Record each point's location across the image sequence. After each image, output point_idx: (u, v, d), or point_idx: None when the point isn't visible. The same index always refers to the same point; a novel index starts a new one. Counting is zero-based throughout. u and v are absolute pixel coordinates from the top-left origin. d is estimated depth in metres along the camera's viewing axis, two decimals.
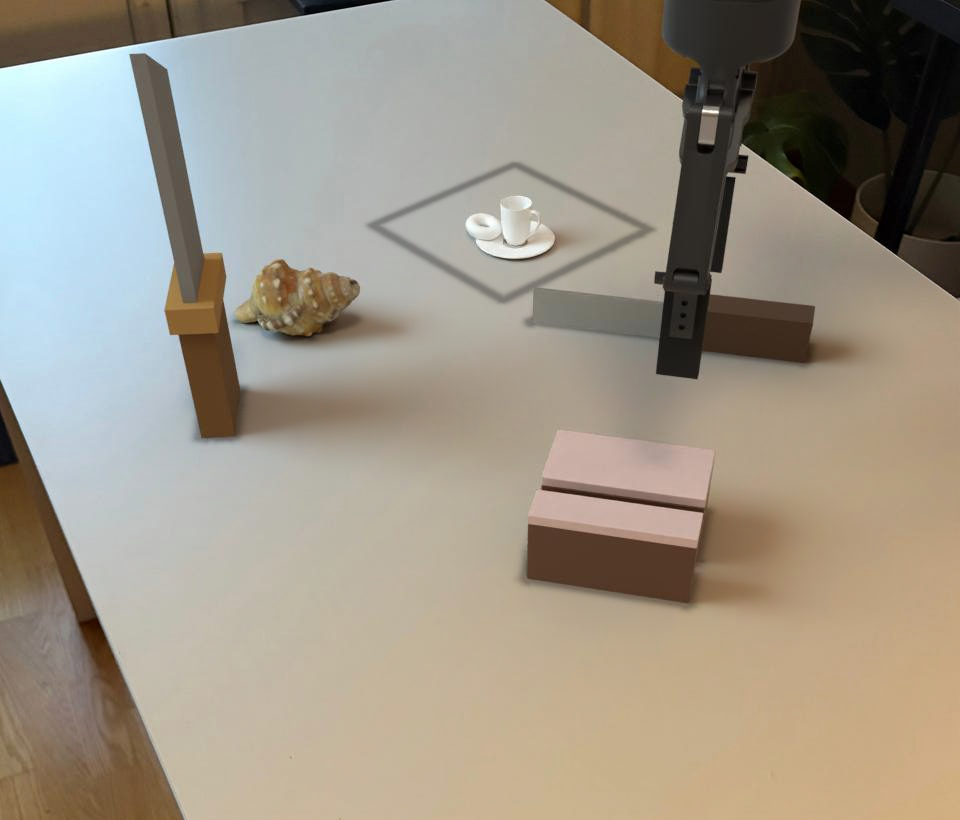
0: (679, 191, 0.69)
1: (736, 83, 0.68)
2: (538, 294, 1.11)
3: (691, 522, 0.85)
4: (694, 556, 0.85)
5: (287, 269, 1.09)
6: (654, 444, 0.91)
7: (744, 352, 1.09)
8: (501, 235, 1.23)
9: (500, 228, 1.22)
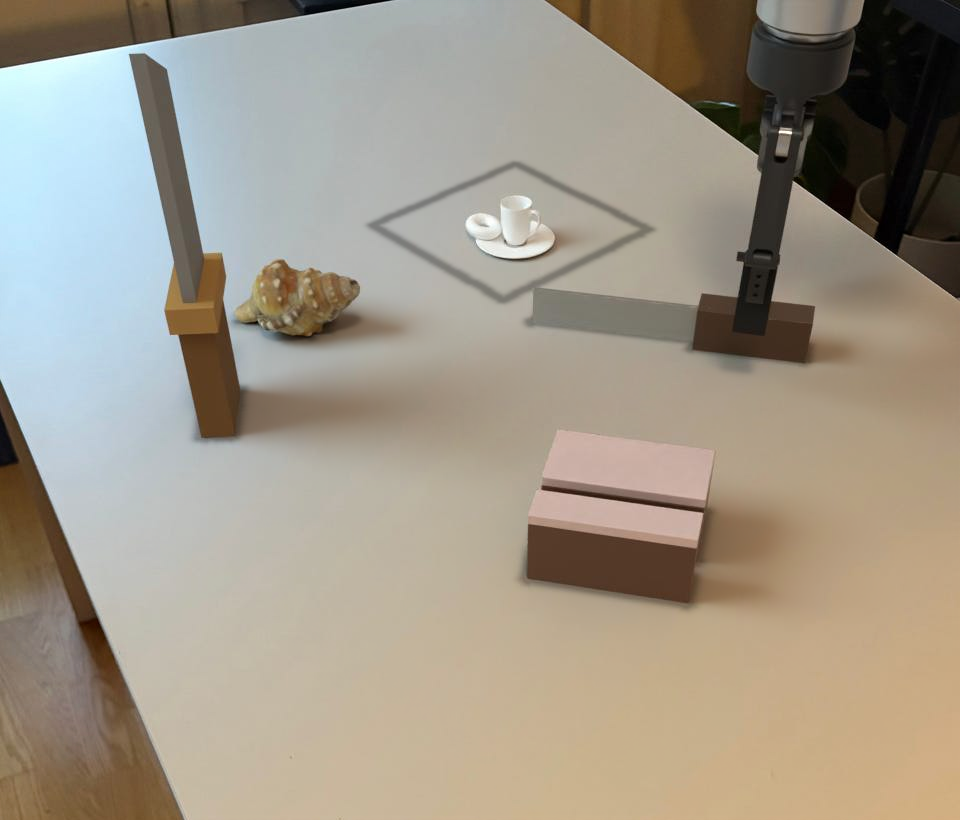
0: (759, 191, 0.91)
1: (803, 110, 0.91)
2: (538, 294, 1.11)
3: (691, 522, 0.85)
4: (694, 556, 0.85)
5: (287, 269, 1.09)
6: (654, 444, 0.91)
7: (744, 352, 1.09)
8: (501, 235, 1.23)
9: (500, 228, 1.22)
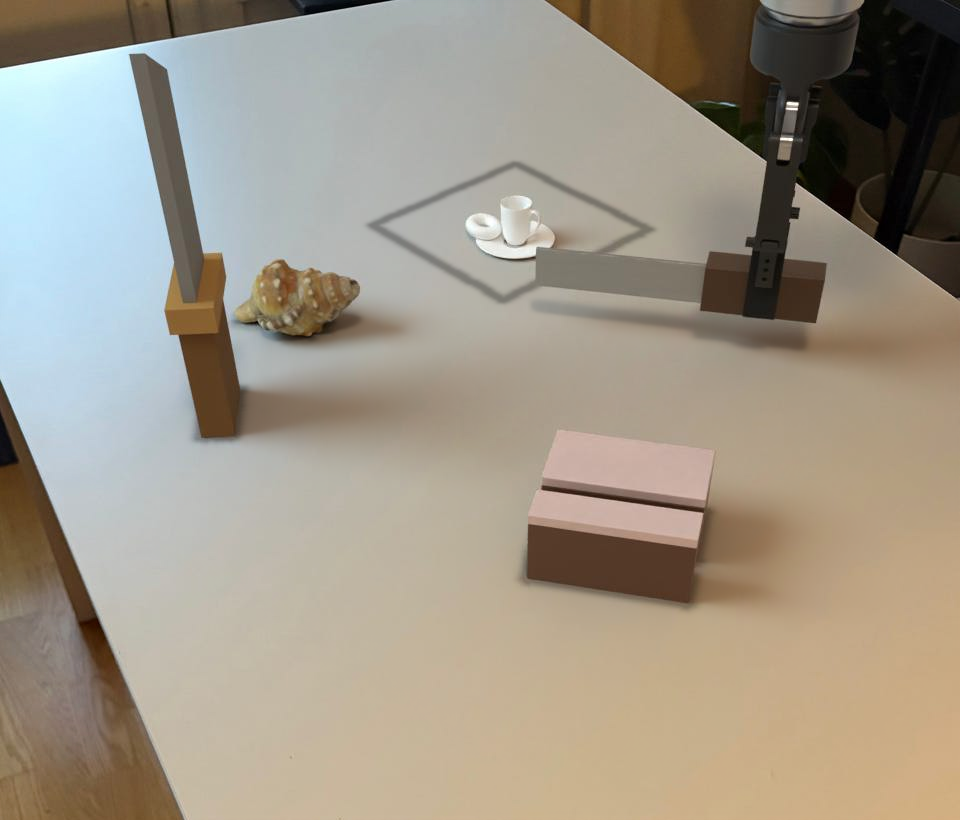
0: (763, 191, 0.94)
1: (808, 95, 0.90)
2: (541, 254, 1.07)
3: (691, 522, 0.85)
4: (694, 556, 0.85)
5: (287, 269, 1.09)
6: (654, 444, 0.91)
7: None
8: (501, 235, 1.23)
9: (500, 228, 1.22)
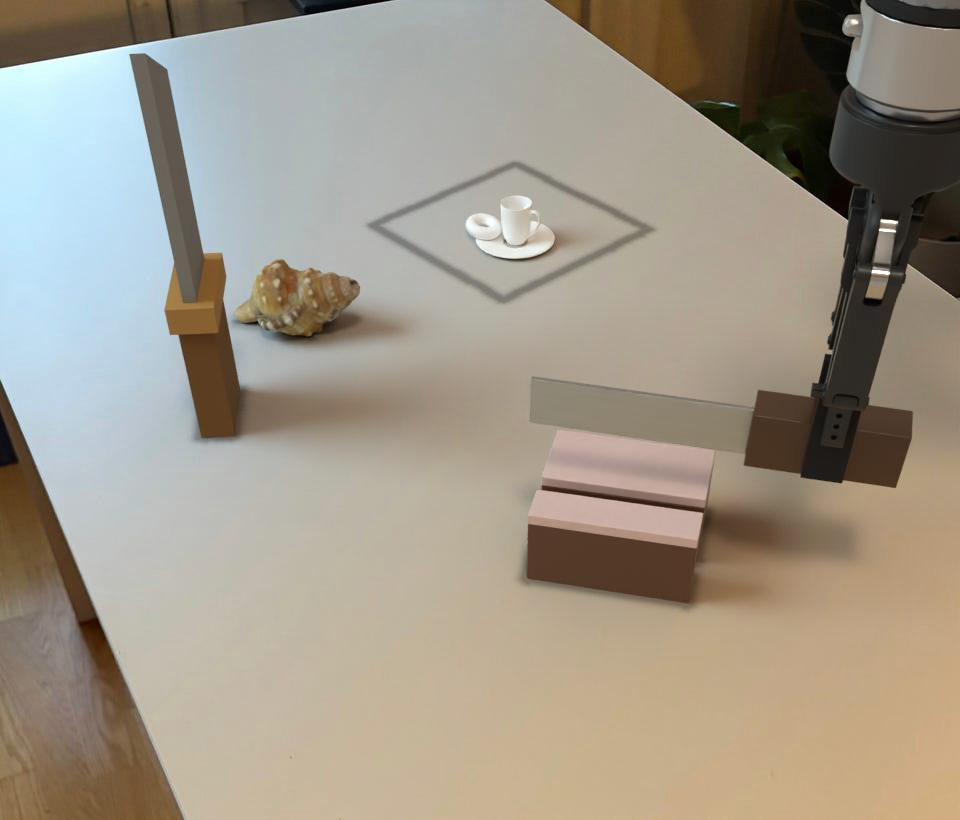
0: (843, 335, 0.69)
1: (911, 212, 0.65)
2: (537, 386, 0.82)
3: (691, 522, 0.85)
4: (694, 556, 0.85)
5: (287, 269, 1.09)
6: (654, 444, 0.91)
7: None
8: (501, 235, 1.23)
9: (500, 228, 1.22)
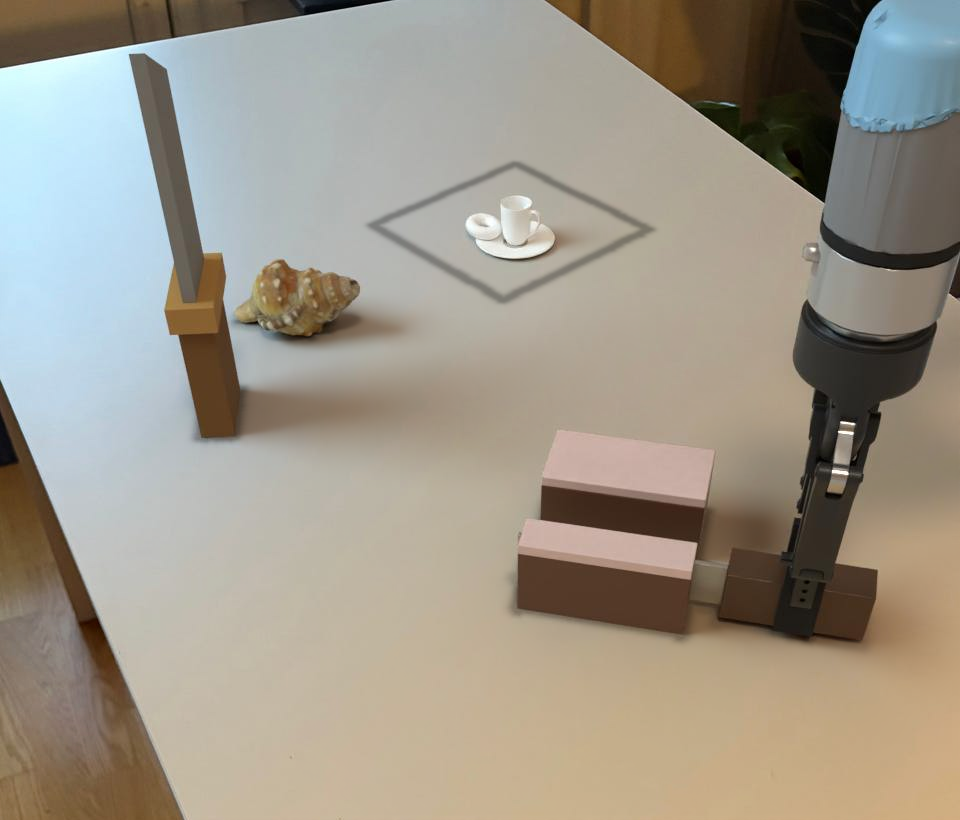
0: (807, 521, 0.73)
1: (868, 416, 0.70)
2: None
3: (685, 552, 0.83)
4: (688, 587, 0.83)
5: (287, 269, 1.09)
6: (654, 444, 0.91)
7: None
8: (501, 235, 1.23)
9: (500, 228, 1.22)
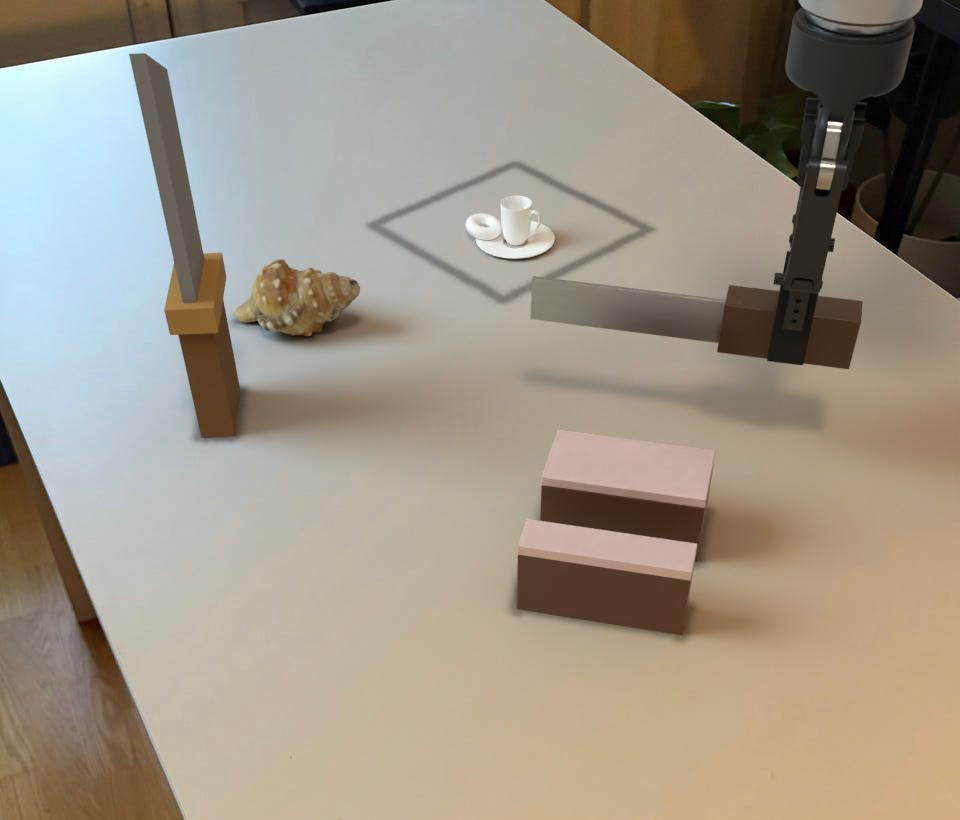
0: (798, 223, 0.81)
1: (853, 114, 0.77)
2: (537, 284, 0.95)
3: (685, 553, 0.83)
4: (688, 588, 0.83)
5: (287, 269, 1.09)
6: (654, 444, 0.91)
7: None
8: (501, 235, 1.23)
9: (500, 228, 1.22)
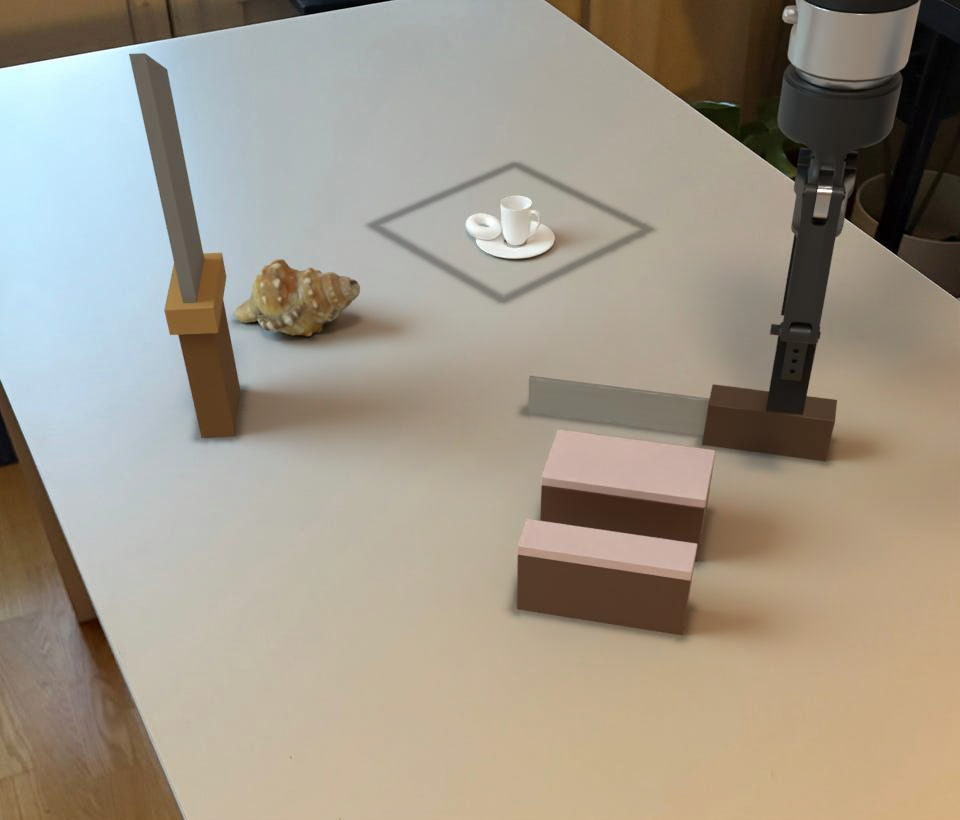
0: (795, 257, 0.80)
1: (844, 165, 0.79)
2: (534, 383, 1.01)
3: (685, 553, 0.83)
4: (688, 588, 0.83)
5: (287, 269, 1.09)
6: (654, 444, 0.91)
7: (759, 448, 0.99)
8: (501, 235, 1.23)
9: (500, 228, 1.22)
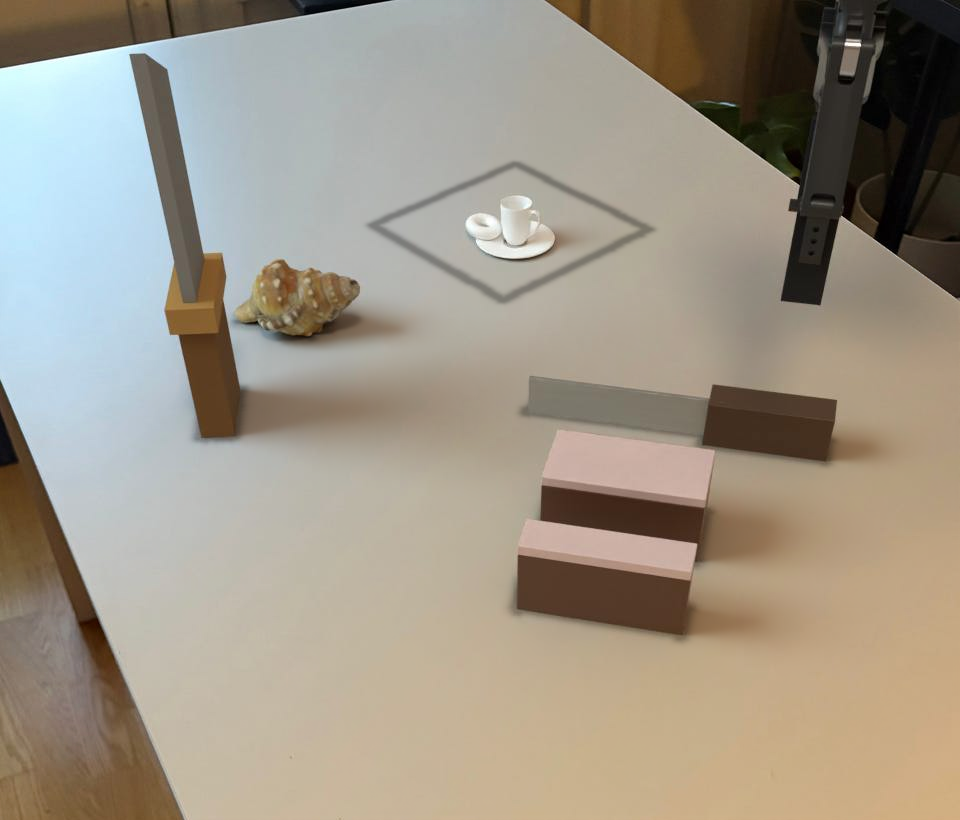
0: (819, 120, 0.74)
1: (874, 19, 0.73)
2: (534, 383, 1.01)
3: (685, 553, 0.83)
4: (688, 588, 0.83)
5: (287, 269, 1.09)
6: (654, 444, 0.91)
7: (759, 448, 0.99)
8: (501, 235, 1.23)
9: (500, 228, 1.22)
